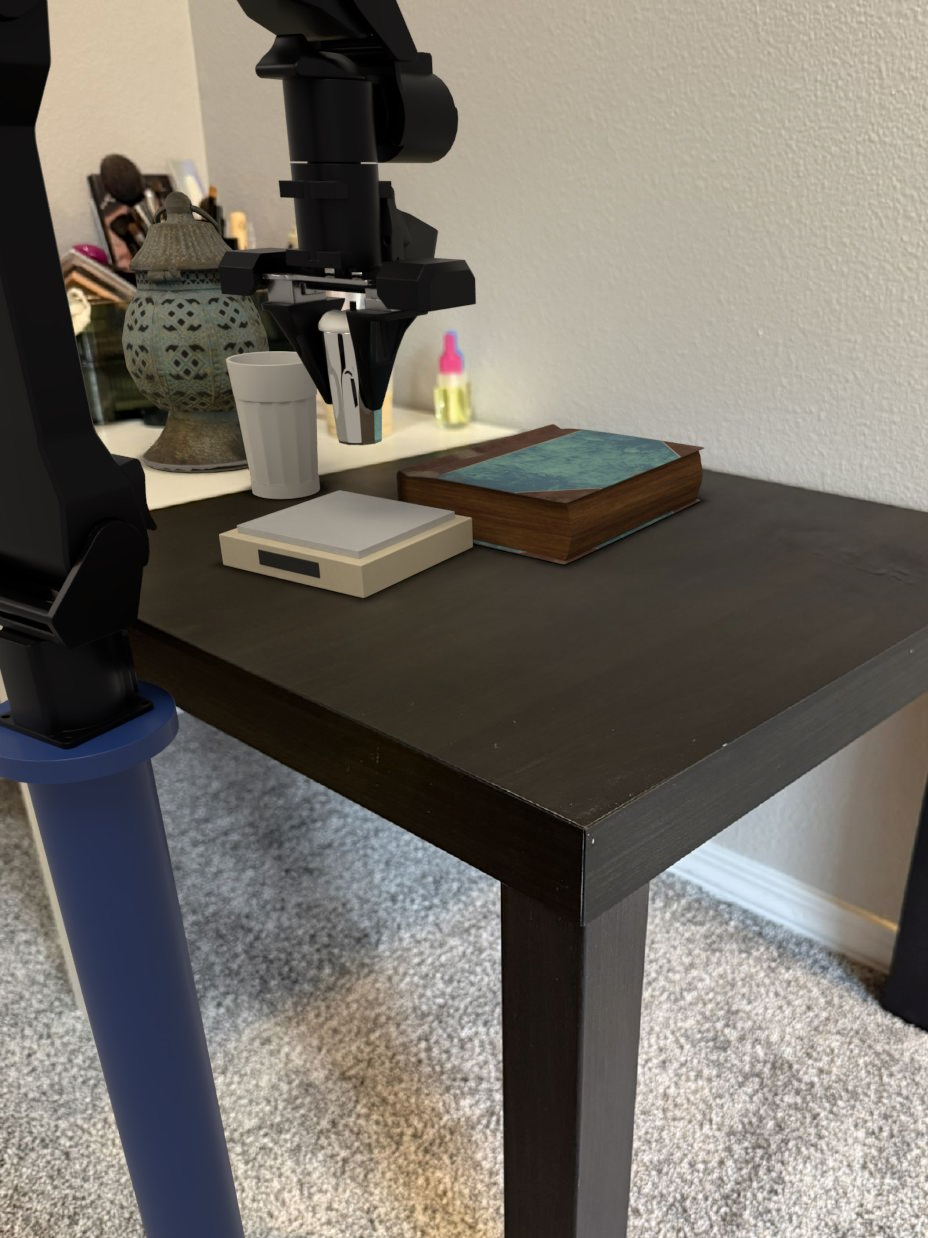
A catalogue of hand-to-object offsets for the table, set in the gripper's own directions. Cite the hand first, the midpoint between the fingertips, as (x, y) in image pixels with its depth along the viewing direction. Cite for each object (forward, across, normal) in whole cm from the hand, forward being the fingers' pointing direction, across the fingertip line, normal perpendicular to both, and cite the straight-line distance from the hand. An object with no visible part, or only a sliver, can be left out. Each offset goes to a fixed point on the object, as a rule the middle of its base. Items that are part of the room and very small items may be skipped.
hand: (353, 406), depth 79 cm
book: (+12, -5, -20) cm, 24 cm away
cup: (+12, +21, -13) cm, 27 cm away
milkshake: (+3, 0, 0) cm, 3 cm away
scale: (+12, +2, -1) cm, 12 cm away
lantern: (+12, +37, -19) cm, 43 cm away
